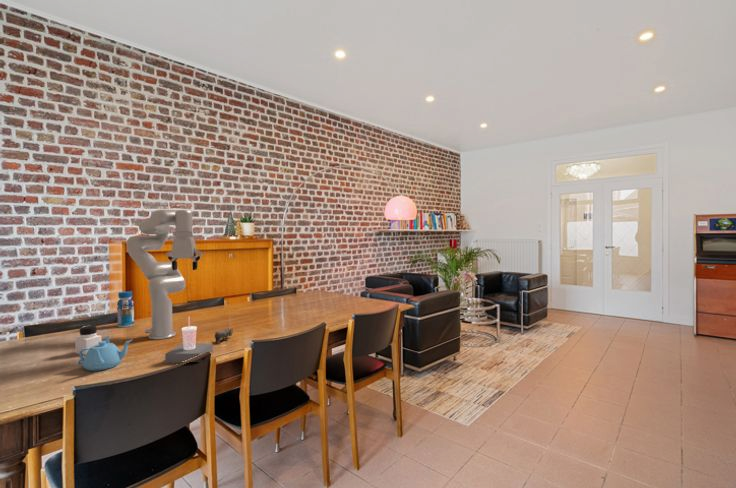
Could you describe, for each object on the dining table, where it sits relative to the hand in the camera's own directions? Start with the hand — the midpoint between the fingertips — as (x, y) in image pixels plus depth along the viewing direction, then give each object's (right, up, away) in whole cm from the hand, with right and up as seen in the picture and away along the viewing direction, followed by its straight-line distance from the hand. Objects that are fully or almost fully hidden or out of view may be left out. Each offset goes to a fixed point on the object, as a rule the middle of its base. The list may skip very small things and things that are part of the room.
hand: (184, 269), depth 180 cm
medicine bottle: (-38, -37, -13) cm, 54 cm away
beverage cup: (+12, -33, -21) cm, 41 cm away
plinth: (+13, -37, -21) cm, 44 cm away
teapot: (-17, -38, -30) cm, 51 cm away
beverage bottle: (-53, -36, +36) cm, 73 cm away
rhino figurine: (+18, -37, +5) cm, 41 cm away
